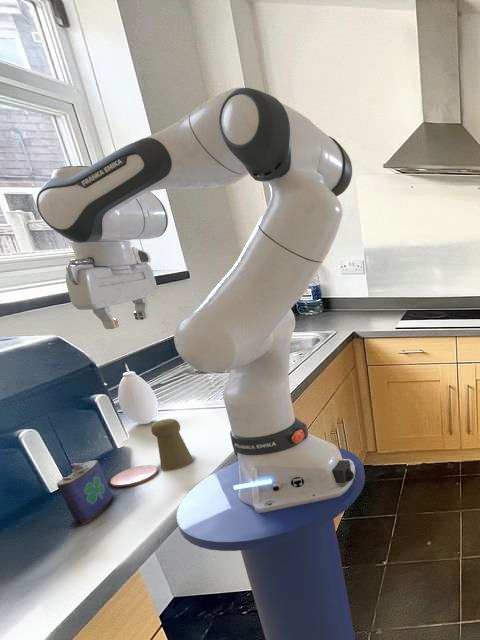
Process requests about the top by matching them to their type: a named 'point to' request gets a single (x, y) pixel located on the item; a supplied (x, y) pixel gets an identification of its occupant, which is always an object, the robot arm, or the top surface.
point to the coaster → (133, 476)
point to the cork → (170, 444)
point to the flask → (85, 491)
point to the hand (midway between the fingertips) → (127, 323)
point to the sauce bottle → (137, 398)
